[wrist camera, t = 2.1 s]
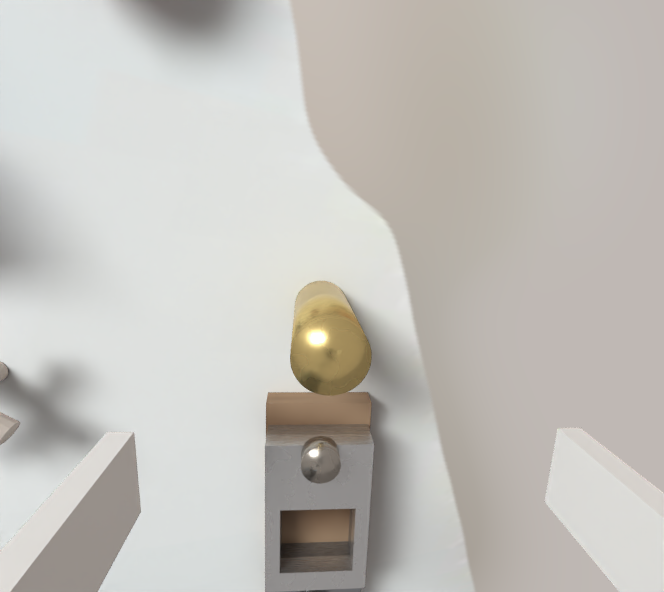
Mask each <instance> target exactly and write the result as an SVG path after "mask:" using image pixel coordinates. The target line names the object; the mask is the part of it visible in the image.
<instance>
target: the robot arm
mask: <svg viewBox="0 0 664 592" xmlns="http://www.w3.org/2000/svg"><path fill="white" fill-rule="evenodd" d="M545 503H546V504H547V506H548V507H549V508H550V509H551V510H552V512H553V513H554V514H555V515H556V516H557V517H558V519H559V520H560V521H561V522H562V524H563V525H564V526H565V527H566V528H567V530H568V531H569V532H570V533H571V534H572V535H573V537H574V538H575V539H576V540H577V542H578V543H579V544H580V545H581V546H582V548H583V549H584V550H585V551H586V552H587V554H588V555H589V556H590V557H591V559H593V561H594V562H595V563H596V564H597V566H598V567H599V568H600V569H601V571H602V572H603V573H604V574H605V575H606V577H607V578H608V579H609V580H610V581H611V583H612V584H613V585H614V586H615V587H616V589H617V590H618V591H619V592H664V493H663V492H662V491H660V490H659V489H658V488H657V487H655V486H654V485H653V484H652V483H650V482H649V481H648V480H646V479H645V478H644V477H643V476H641V475H640V474H639V473H637V472H636V471H635V470H633V469H632V468H631V467H630V466H628V465H627V464H626V463H625V462H623V461H622V460H621V459H620V458H618V457H617V456H616V455H614V454H613V453H612V452H610V451H609V450H608V449H607V448H605V447H604V446H603V445H601V444H600V443H599V442H598V441H596V440H595V439H594V438H593V437H591V436H590V435H589V434H587V433H586V432H585V431H584V430H582V429H581V428H558V430H557V435H556V441H555V446H554V452H553V458H552V463H551V469H550V474H549V480H548V486H547V491H546V496H545ZM140 513H141V508H140V496H139V484H138V472H137V460H136V449H135V437H134V432H107V433H106V434H105V435H104V436H103V437H102V438H101V439H100V440H99V442H98V443H97V444H96V445H95V446H94V447H93V448H92V449H91V450H90V452H89V453H88V454H87V455H86V456H85V457H84V458H83V459H82V460H81V462H80V463H79V464H78V465H77V466H76V467H75V468H74V469H73V470H72V472H71V473H70V474H69V475H68V476H67V477H66V478H65V479H64V481H63V482H62V483H61V484H60V485H59V486H58V487H57V488H56V489H55V491H54V492H53V493H52V494H51V495H50V496H49V497H48V498H47V499H46V501H45V502H44V503H43V504H42V505H41V506H40V507H39V508H38V509H37V511H36V512H35V513H34V514H33V515H32V516H31V517H30V518H29V520H28V521H27V522H26V523H25V524H24V525H23V526H22V527H21V528H20V530H19V531H18V532H17V533H16V534H15V535H14V536H13V537H12V538H11V540H10V541H9V542H8V543H7V544H6V545H5V546H4V547H3V549H2V550H1V551H0V592H98V590H99V588H100V586H101V584H102V582H103V580H104V579H105V577H106V575H107V573H108V571H109V569H110V568H111V566H112V564H113V562H114V560H115V558H116V557H117V555H118V553H119V551H120V549H121V547H122V546H123V544H124V542H125V540H126V538H127V536H128V535H129V533H130V531H131V529H132V527H133V525H134V524H135V522H136V520H137V518H138V516H139V514H140Z"/></svg>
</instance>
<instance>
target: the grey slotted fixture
mask: <svg viewBox="0 0 664 592" xmlns="http://www.w3.org/2000/svg"><path fill="white" fill-rule="evenodd" d="M373 456H374V442H373V439H372V436H371V432H370V429H369V426H368V424H319V425H268V431H267V437H266V443H265V592H361V588H365V578H366V563H367V547H368V532H369V517H370V502H371V486H372V471H373ZM321 509H350V516H349V535H348V541H340V542H310V543H282V511H283V510H321Z"/></svg>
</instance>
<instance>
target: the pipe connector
mask: <svg viewBox="0 0 664 592" xmlns="http://www.w3.org/2000/svg"><path fill="white" fill-rule="evenodd" d="M7 376H8V368H7V367H6V365H5V364H3V363H2V362H0V381H2V380H4V379H5V378H6V377H7ZM19 425H20V422H19V421H17V420H15V419H13V418H11V417H9V416H7V415H5V414H3V413H1V412H0V445H1V444H3V443H4V442H5V441H6V440H8V439H9V438H10V437H11V436H12V434H13V433H14V432H15V431H16V430H17V428H18V427H19Z"/></svg>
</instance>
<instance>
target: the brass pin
mask: <svg viewBox="0 0 664 592" xmlns="http://www.w3.org/2000/svg"><path fill="white" fill-rule="evenodd" d="M290 362H291V368H292V371H293V373H294V375H295V377H296V379H297V380H298V381H299V382H300V383H301V385H303V386H304V387H305V388H306V389H308V390H310V391H312V392H314V393H317V394H320V395H327V396H333V395H340V394H343V393H346V392H348V391H350V390H352V389H353V388H355V387H356V386H357V385H359V384H360V383H361V382H362V380H363V379H364V378H365V376H366V375H367V373H368V370H369V368H370V364H371V348H370V344H369V342H368V340H367V338H366V336H365V334H364V332H363V330H362V328H361V326H360V324H359V322H358V320H357V318H356V316H355V314H354V312H353V310H352V309H351V307H350V305H349V303H348V301H347V299H346V297H345V295H344V293H343V292H342V290H341V289H340V288H339V287H338V286H336V285H335V284H333V283H330V282H327V281H315V282H312V283H310V284H308V285H306V286H305V287H304V288H303V289H302V290H301V291H300V292H299V294H298V295H297V298H296V301H295V310H294V321H293V332H292V343H291V355H290Z"/></svg>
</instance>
